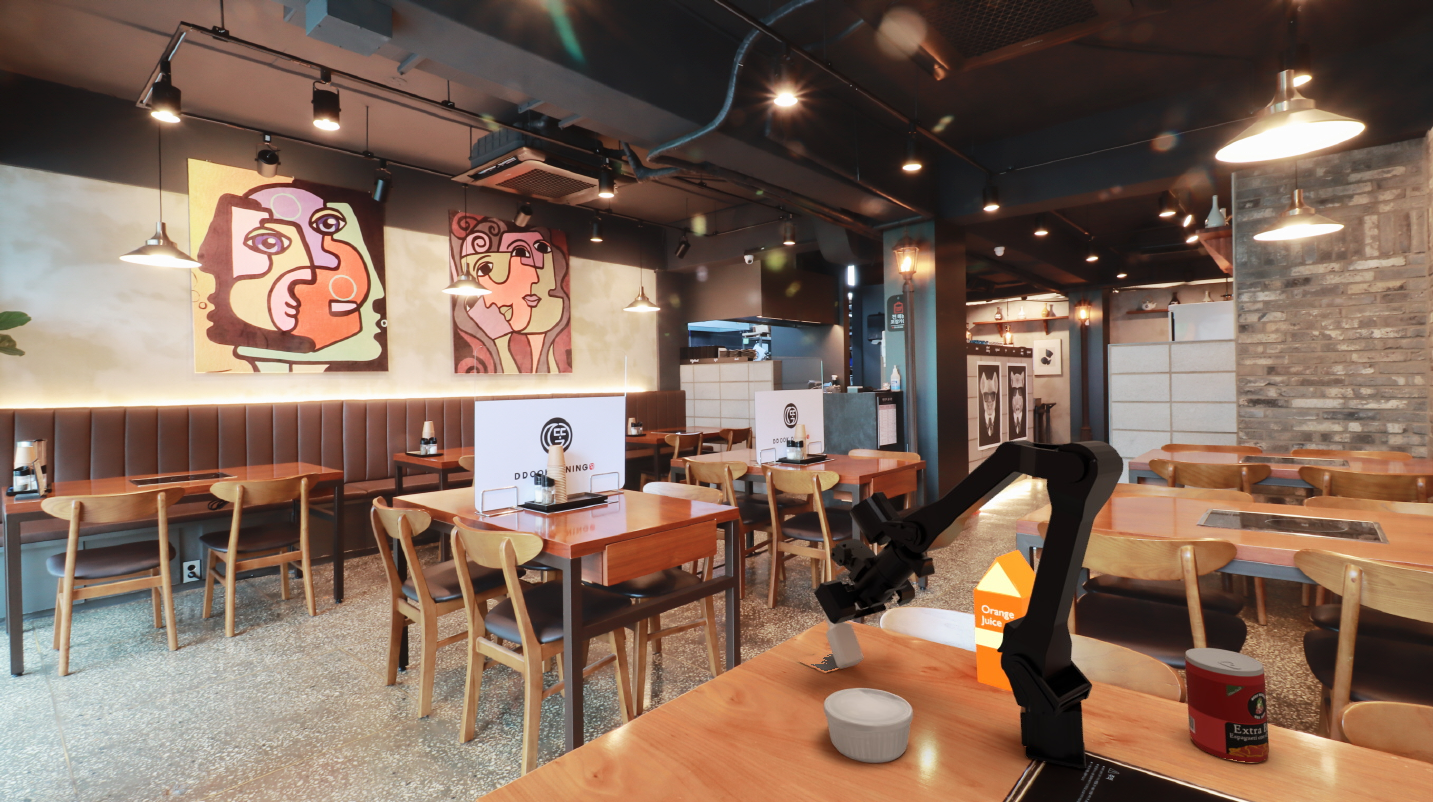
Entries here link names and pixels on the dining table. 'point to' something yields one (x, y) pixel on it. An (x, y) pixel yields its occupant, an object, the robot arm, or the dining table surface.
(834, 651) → the pepper shaker
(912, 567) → the robot arm
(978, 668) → the orange juice
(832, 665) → the coaster
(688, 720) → the dining table surface
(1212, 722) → the canned food
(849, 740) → the ramekin
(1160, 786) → the dining table surface
